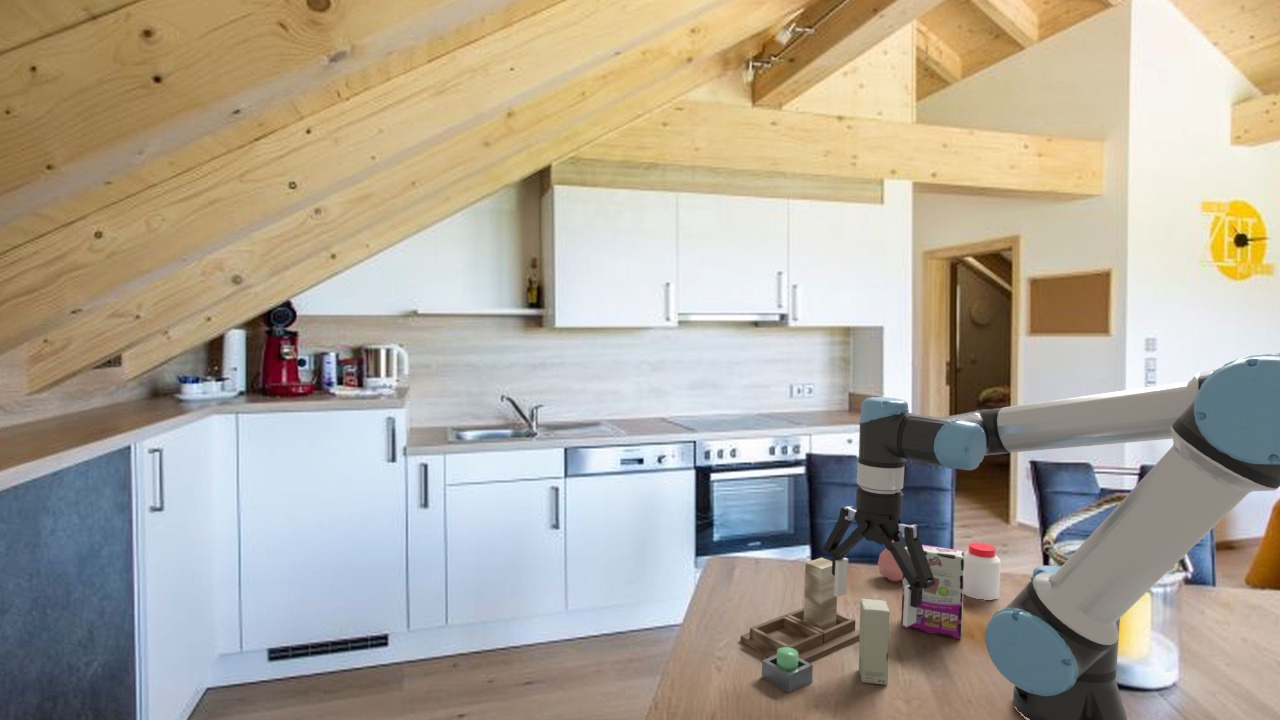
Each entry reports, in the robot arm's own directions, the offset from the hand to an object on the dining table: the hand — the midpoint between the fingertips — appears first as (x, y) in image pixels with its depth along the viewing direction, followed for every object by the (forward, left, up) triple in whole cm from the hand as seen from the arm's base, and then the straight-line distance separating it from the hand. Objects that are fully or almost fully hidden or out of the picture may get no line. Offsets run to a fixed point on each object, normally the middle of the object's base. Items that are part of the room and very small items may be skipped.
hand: (873, 608), depth 116 cm
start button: (+8, +13, -11) cm, 19 cm away
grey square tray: (+8, +13, -12) cm, 19 cm away
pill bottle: (+7, -52, -12) cm, 54 cm away
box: (0, 0, -12) cm, 12 cm away
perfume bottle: (+23, -43, -12) cm, 50 cm away
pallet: (+16, -1, -12) cm, 20 cm away
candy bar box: (+4, -26, -12) cm, 29 cm away
